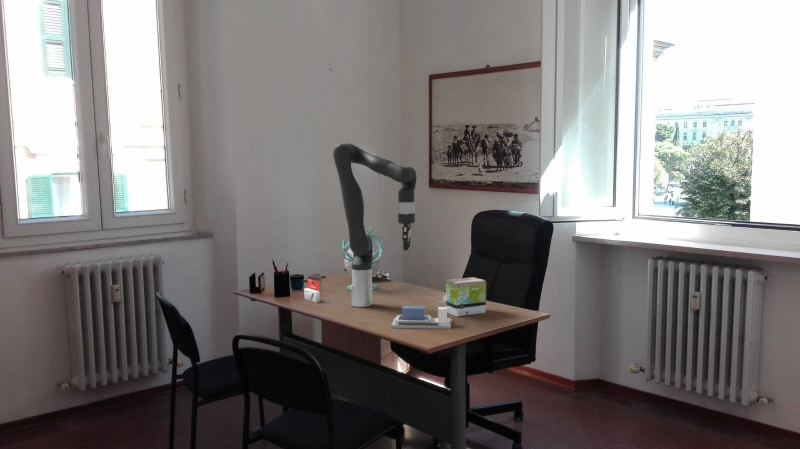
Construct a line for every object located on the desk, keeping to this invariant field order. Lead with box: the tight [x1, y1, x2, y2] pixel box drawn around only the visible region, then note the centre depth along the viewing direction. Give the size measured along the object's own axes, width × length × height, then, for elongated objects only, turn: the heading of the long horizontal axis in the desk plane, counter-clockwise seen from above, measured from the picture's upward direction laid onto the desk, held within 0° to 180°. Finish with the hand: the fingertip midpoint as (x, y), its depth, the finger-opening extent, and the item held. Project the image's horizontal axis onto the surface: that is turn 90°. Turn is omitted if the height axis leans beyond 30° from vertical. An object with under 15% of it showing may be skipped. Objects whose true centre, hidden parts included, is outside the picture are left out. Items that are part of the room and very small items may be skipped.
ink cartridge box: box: [303, 278, 321, 303], centre depth 317 cm, size 2×11×10 cm, turn 39°
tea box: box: [445, 277, 487, 317], centre depth 288 cm, size 15×10×15 cm, turn 117°
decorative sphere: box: [344, 247, 381, 277], centre depth 368 cm, size 20×20×20 cm
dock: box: [390, 306, 452, 330], centre depth 270 cm, size 24×12×7 cm, turn 84°
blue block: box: [401, 305, 426, 320], centre depth 270 cm, size 9×4×6 cm, turn 84°
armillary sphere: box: [341, 226, 383, 292], centre depth 343 cm, size 22×26×35 cm
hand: (406, 248), depth 290 cm, fingers open, 8 cm apart
